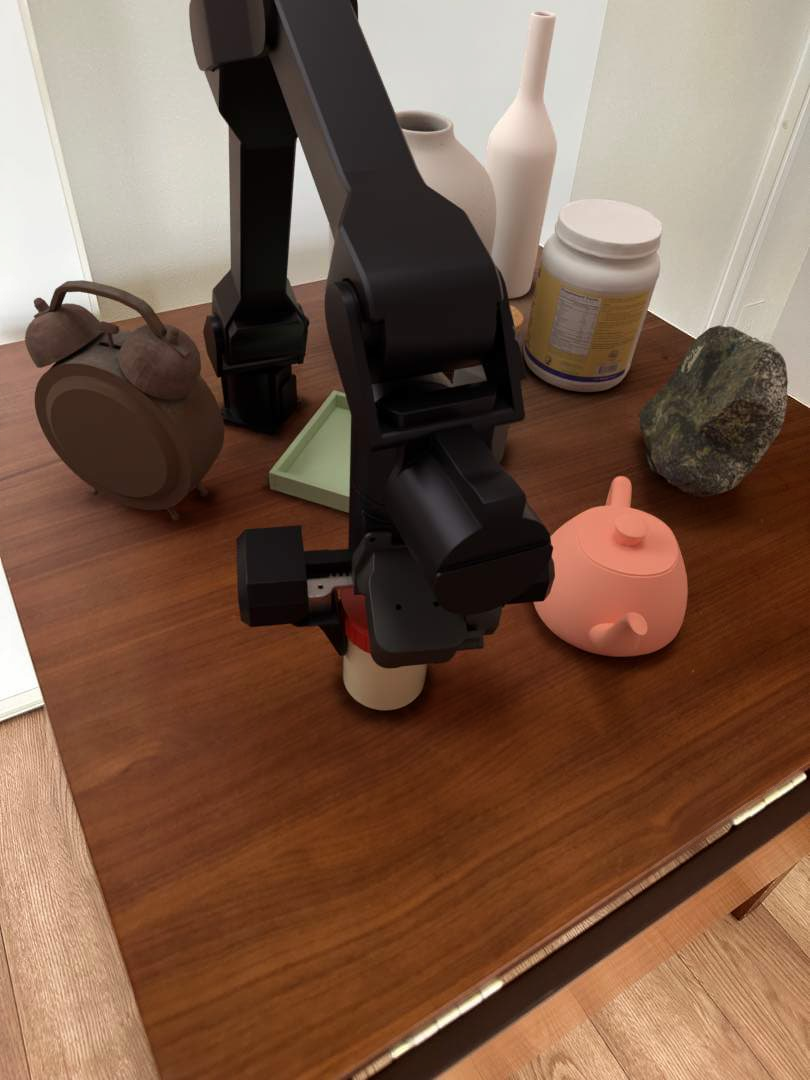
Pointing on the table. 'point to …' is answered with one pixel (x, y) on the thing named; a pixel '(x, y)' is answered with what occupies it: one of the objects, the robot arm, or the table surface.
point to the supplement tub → (592, 294)
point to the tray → (319, 458)
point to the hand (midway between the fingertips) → (387, 646)
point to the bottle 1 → (523, 164)
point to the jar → (380, 680)
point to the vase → (448, 170)
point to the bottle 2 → (478, 375)
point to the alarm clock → (124, 400)
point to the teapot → (616, 580)
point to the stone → (716, 412)
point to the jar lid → (354, 618)
